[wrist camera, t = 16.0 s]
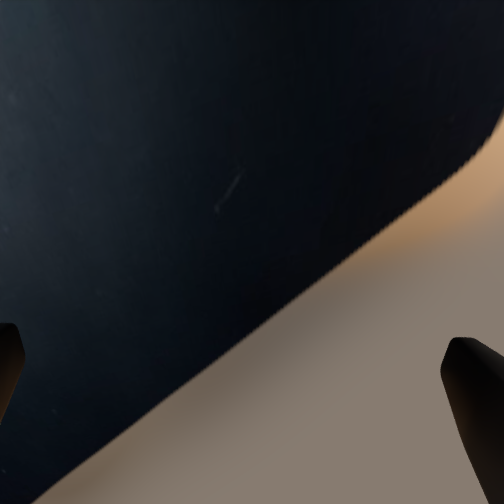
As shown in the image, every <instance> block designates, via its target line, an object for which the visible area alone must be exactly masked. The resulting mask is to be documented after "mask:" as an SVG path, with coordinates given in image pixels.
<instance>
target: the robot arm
mask: <svg viewBox="0 0 504 504" xmlns="http://www.w3.org/2000/svg"><path fill="white" fill-rule="evenodd" d="M24 363H25V352H24V348H23V345H22V341H21V338H20V334H19V331H18V328H17V326H16V325H15V324H13V323H0V423H1V420H2V418H3V416H4V413H5V411H6V408H7V406H8V403H9V401H10V398H11V396H12V393H13V391H14V389H15V386H16V384H17V381H18V379H19V376H20V374H21V371H22V369H23V366H24ZM440 370H441V371H440V372H441V378H442V381H443V384H444V388H445V390H446V394H447V397H448V400H449V403H450V406H451V409H452V412H453V415H454V419H455V421H456V425H457V428H458V431H459V434H460V437H461V440H462V442H463V445H464V448H465V450H466V453H467V455H468V457H469V460H470V462H471V464H472V467H473V469H474V471H475V473H476V476H477V478H478V480H479V483H480V485H481V487H482V489H483V492H484V494H485V496H486V498H487V501H488V503H489V504H504V357H503V356H502V355H500V354H498V353H497V352H495V351H494V350H492V349H491V348H489V347H487V346H486V345H484V344H483V343H481V342H479V341H478V340H476V339H474V338H467V337H455V338H453V339H452V340H451V341H450V343H449V345H448V348H447V351H446V353H445V356H444V359H443V361H442V364H441V369H440Z"/></svg>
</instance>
